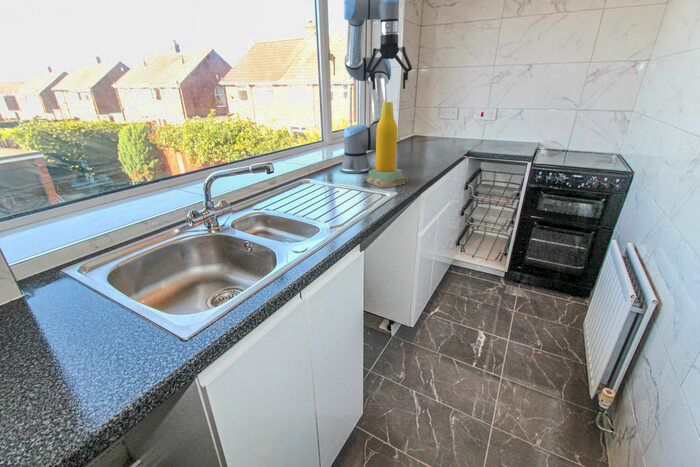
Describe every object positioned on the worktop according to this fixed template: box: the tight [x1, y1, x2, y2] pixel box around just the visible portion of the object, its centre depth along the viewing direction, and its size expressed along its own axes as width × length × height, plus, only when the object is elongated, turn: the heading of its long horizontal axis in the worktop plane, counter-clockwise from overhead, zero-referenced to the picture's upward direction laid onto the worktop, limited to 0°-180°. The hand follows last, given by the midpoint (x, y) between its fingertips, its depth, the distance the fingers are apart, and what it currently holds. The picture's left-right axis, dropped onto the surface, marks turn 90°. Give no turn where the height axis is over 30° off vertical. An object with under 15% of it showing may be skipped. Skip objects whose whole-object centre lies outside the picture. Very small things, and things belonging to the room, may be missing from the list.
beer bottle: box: [375, 101, 398, 172], centre depth 145 cm, size 9×9×29 cm
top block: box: [368, 168, 403, 181], centre depth 151 cm, size 11×11×3 cm
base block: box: [365, 174, 406, 189], centre depth 153 cm, size 13×13×3 cm
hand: (388, 89), depth 148 cm, fingers open, 13 cm apart
